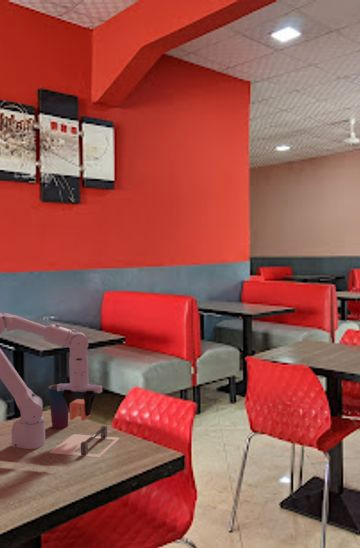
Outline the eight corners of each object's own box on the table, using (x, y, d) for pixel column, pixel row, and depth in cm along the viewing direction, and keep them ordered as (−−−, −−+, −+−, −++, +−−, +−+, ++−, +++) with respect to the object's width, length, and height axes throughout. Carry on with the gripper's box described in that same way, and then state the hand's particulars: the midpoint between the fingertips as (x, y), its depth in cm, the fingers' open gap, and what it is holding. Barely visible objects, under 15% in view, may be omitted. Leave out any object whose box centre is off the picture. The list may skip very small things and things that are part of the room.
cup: (54, 427, 183) (52, 383, 182) (73, 427, 182) (72, 384, 181) (46, 433, 176) (45, 389, 175) (66, 434, 175) (65, 389, 174)
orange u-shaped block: (70, 419, 164) (69, 403, 163) (77, 414, 168) (76, 399, 168) (83, 420, 162) (83, 404, 162) (90, 415, 167) (90, 399, 167)
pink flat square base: (48, 457, 155) (48, 440, 155) (73, 438, 171) (73, 423, 171) (99, 462, 151) (98, 445, 151) (120, 442, 167) (119, 426, 166)
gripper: (51, 373, 163) (52, 417, 163) (95, 375, 159) (96, 420, 159) (62, 368, 169) (63, 410, 170) (104, 369, 166) (105, 412, 166)
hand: (80, 414), depth 165 cm, fingers closed on orange u-shaped block, 5 cm apart
